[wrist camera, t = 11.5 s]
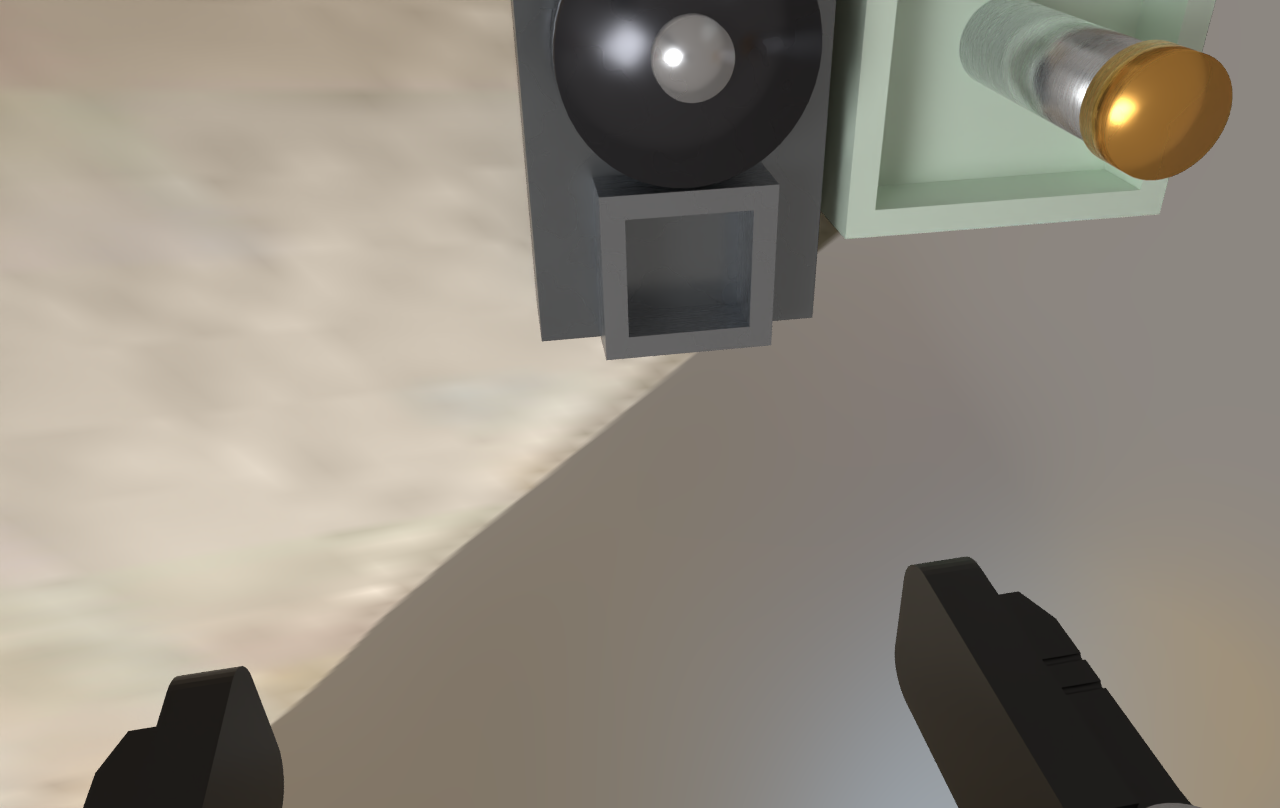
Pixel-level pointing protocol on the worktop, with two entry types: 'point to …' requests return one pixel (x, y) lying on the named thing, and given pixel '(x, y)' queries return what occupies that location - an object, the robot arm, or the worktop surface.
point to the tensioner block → (673, 167)
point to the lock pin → (1101, 85)
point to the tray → (966, 125)
